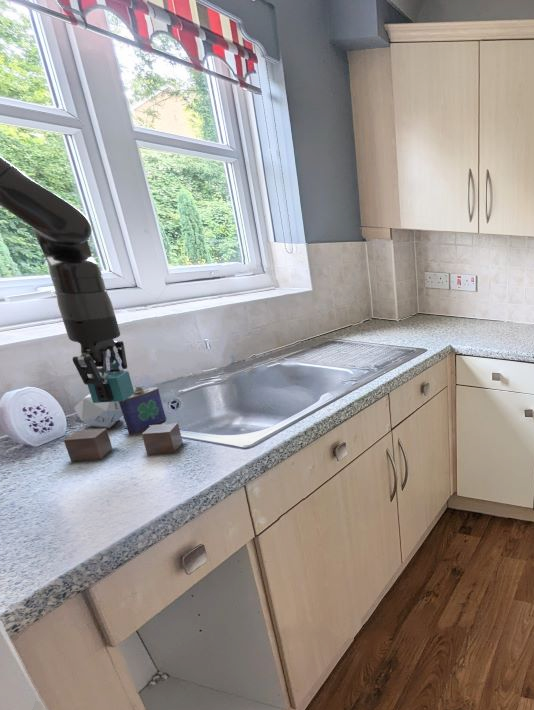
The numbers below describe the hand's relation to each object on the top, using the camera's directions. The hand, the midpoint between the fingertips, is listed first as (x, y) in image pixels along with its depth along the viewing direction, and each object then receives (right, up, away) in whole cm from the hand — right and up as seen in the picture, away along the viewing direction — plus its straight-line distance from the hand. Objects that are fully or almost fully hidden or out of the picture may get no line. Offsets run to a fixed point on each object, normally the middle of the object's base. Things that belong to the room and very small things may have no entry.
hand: (113, 396), depth 94 cm
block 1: (-7, -13, +3) cm, 15 cm away
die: (-18, -7, +17) cm, 26 cm away
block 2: (+5, -12, +7) cm, 15 cm away
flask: (-7, -8, +17) cm, 20 cm away
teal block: (0, 0, 0) cm, 0 cm away
